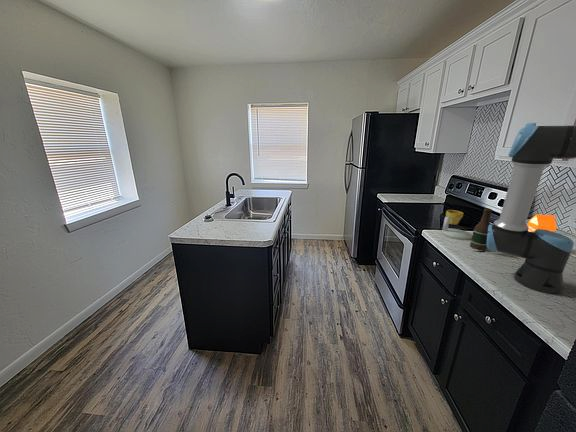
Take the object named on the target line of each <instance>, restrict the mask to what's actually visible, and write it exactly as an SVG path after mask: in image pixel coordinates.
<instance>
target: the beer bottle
mask: <svg viewBox="0 0 576 432" xmlns="http://www.w3.org/2000/svg"><path fill="white" fill-rule="evenodd" d="M492 212H493V209H491V208H484V209H483V213H482V217H481V219H480V221H479V223H477V224H476V225H475V227H474V229H473V232H472V238H471V239H470V244H469V248H472V249H474V250H475V252H478V253H485V252H486V250H487V249H488V248H487V234H488V227H489V225H491V224H490V220H491V216H492Z"/></svg>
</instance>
